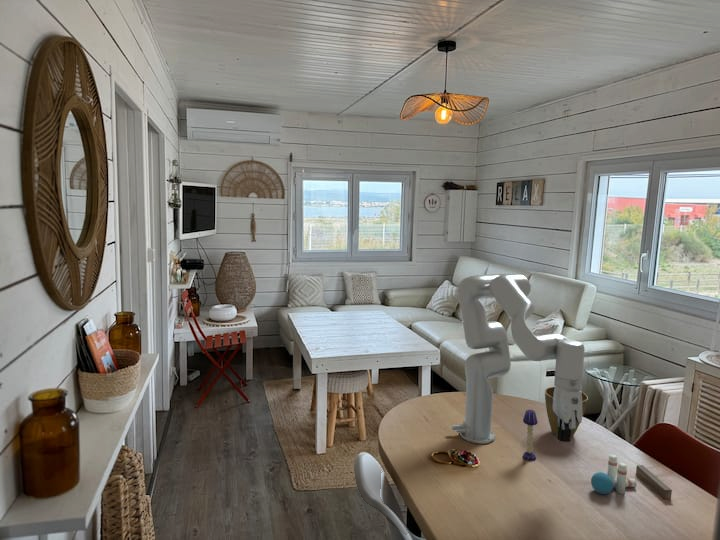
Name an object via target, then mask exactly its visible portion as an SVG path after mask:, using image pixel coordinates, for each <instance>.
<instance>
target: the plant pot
mask: <svg viewBox="0 0 720 540" xmlns="http://www.w3.org/2000/svg"><path fill="white" fill-rule="evenodd" d="M554 389H555V386H550V387H547V388H545V389H544V398H545V399H544V400H545V408H546V409H545V410H546V414H547V420H548V423H549V426H550V427H549V428H550V430H551V434H553V436H555V437H557V438H558V427H560V426H558V417H557V415H556V414H555V413H554V411H553V396H554ZM581 393H582V418H583V416H584V413H585V411H586V406H587V404H588V400H589V397H588V395H587V394H586V393H584V392H583V391H581ZM580 424H581V423H578V422H576V429H572V430H571V438H570V439H572V438H573V437H574V435H575V434H576V432H577V430H578V428H579V426H580Z"/></svg>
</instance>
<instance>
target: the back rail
mask: <svg viewBox="0 0 720 540" xmlns="http://www.w3.org/2000/svg"><path fill="white" fill-rule="evenodd" d="M635 469H636V470H635V475H636V476H637V477H639V478H640V479H641V480H642V481H643V482H644V483H645V484H646V485H647V486H649V487H650V488H651V489H652V490H653V491H654V492H655V493H656V494H658V495H659V496H660V497H661V498H662V499H663V500H668V501H669V500H672V494H673V492H672V491H673V490H672V489H671V487H669V486H668V485H667V484H666V483H664V482H663V481H662V480H661V479H659V478H658V477H657V475H655V474H654V473H653V472H651V471H650V470H649V469H648V468H647V467H646V466H644V465H643V464H641V465H640V464H639V465H637V464H636V468H635Z"/></svg>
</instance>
